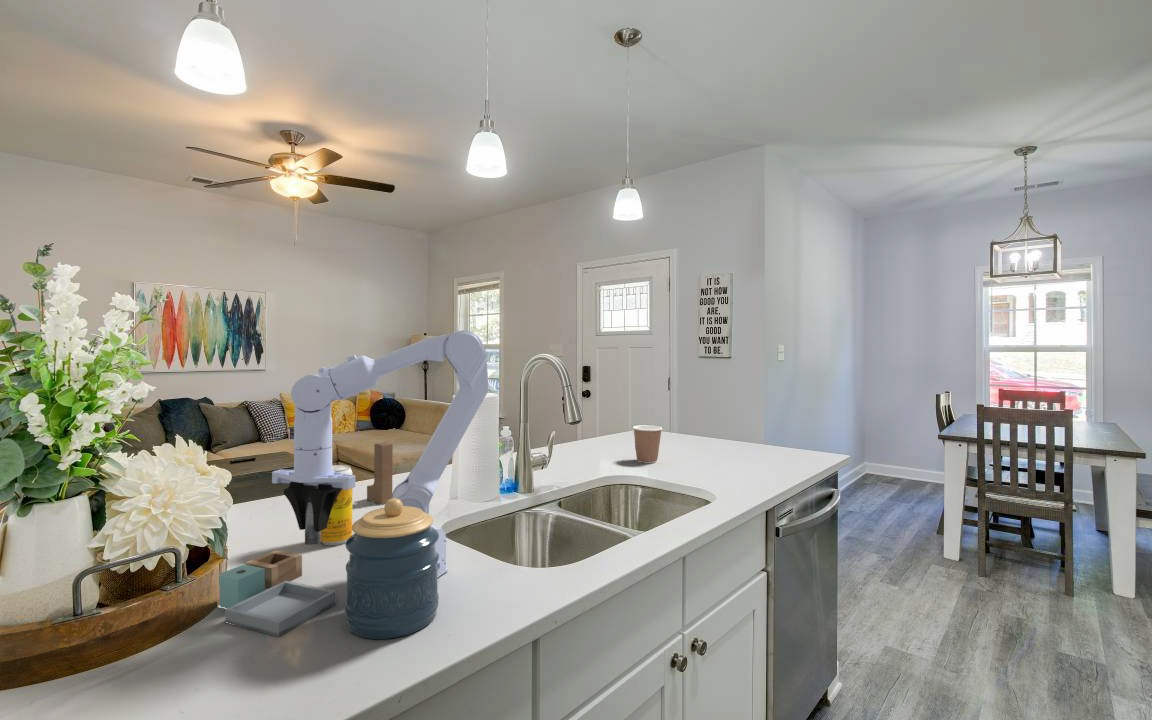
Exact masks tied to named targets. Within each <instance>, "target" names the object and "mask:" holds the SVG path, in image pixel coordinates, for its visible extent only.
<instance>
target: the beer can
mask: <svg viewBox="0 0 1152 720" xmlns="http://www.w3.org/2000/svg"><path fill="white" fill-rule="evenodd" d="M332 469H334V471H335V472H339V473H343V474H348V475H353V471H352V469H351V465H346V464H338V465H337V464H335V465H333V464H332ZM352 525H353V488H351V489H349V490H343V488H342V490H341V491H340V493H339V495H338V496H337V498H336V500H335V502H334V505H333V507H332V510H331V513H330V516H329V520H328V524H327V528H325V529H323V530H321V542H322V544H323V545H325V546H339V545H344V544H346V541H347V540H348V538H349V537H351V536H352V535H353V530H352Z"/></svg>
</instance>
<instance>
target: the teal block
mask: <svg viewBox="0 0 1152 720" xmlns="http://www.w3.org/2000/svg"><path fill="white" fill-rule="evenodd" d="M219 574H220V575H219V585H220V602H219V603H220V604H219V605H220V606H221V607H225V608H229V607H231V606H233V605H236V604H238V603H240V602H242V601H244V600H246V599H248V598H250V597H252V596H254V595H256V594H259V593H261V592H263V591H265V590H266V589H265V568H260V567H255V566H250V565H245V563H242V564H241V565H238V566H236V567H233V568H231V569H229V570H225V571H224V572H222V573H219Z"/></svg>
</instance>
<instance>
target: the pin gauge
mask: <svg viewBox="0 0 1152 720" xmlns="http://www.w3.org/2000/svg"><path fill="white" fill-rule="evenodd" d="M321 542H322V541H321V531H319V532H317V531H315V529H314V515H313V507H312V502H311V499H308V500H306V501H305V529H304V545H307V546H314V545H318V544H320V543H321Z"/></svg>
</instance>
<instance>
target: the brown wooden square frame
mask: <svg viewBox="0 0 1152 720" xmlns="http://www.w3.org/2000/svg"><path fill="white" fill-rule="evenodd" d="M244 564H245V565H250V566H255V567H260V568H265V590H267V589H269V588H271V587H273V586H275V585H277V584H280V583H282V582H284V581H290V582H293V580H296V579H298V578H300V577H302V576H303V555H302V554H298V553H295V552H294V553H293V552H288V551H283V550H278V549H274V550H273V551H270V552H268V553H265V554H263V555H260V556H257V557H256V558H253V559H251V560H248V561H246V562H244Z"/></svg>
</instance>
